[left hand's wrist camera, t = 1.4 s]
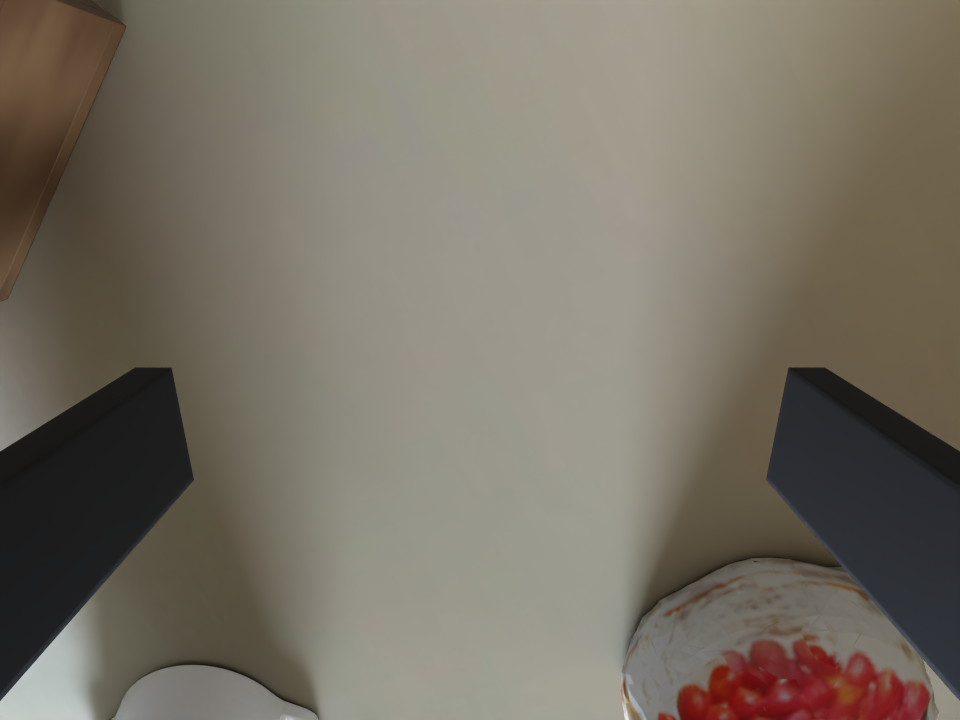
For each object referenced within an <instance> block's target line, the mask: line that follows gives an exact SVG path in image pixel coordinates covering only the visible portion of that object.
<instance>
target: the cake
mask: <svg viewBox="0 0 960 720" xmlns="http://www.w3.org/2000/svg"><path fill="white" fill-rule="evenodd" d="M754 561H757V562H754ZM621 698H622V703H623V708H624V715H625V720H936V718H937V715H938V713H939V712H938V709H937V707H936V705H935V701H934V693H933V689H932V686H931V682H930V679H929V677H928V675H927V673H926V669H925V666H924V662H923V659H922V657H921V656H920V655H919V654H918V653H917V652H916V650H915V649H914V648H913V647H912V646H911V645H910V644H909V642H908V641H907V640H906V639H905V638H904V637H903V636H902V634H901V633H900V632H899V631H898V630H897V629H896V628H895V626H894V625H893V624H892V623H891V622H890V621H889V620H888V618H887V617H886V616H885V615H884V614H883V613H882V612H881V610H880V609H879V608H878V607H877V606H876V605H875V604H874V602H873V601H872V600H871V599H870V598H869V597H868V596H867V594H866V593H865V592H864V591H863V590H862V589H861V588H860V587H859V585H858V584H857V583H856V582H855V581H854V580H853V579H852V577H851V576H850V575H849V574H848V573H847V572H846V571H845V569H844V568H843V567H842V566H841V567H823V566H819V565H817V564H812V563H806V562H800V561H795V560H791V559H781V558H751V559H748V560H744V561H741V562H735V563H731V564H728V565H726V566H724V567H722V568H720V569H718V570H716V571H714V572H712V573H710V574H708V575H707V576H705V577H703V578H702V579H700V580H698V581H696V582H694V583H692V584H690V585H688V586H686V587H684V588H683V589H681V590H679V591H677V592H675V593H673V594H671V595H669V596H667V597H665V598H663V599H661V600H659V602H658V604H657V605H656V606H655V607H654V608H653V609H652V610H651V611H650V612H648V613H647V614H646V615H645V616H643V618H642V619H641V621H640V623H639V626H638V628H637V631H636V632H635V633H634V635H633V636H632V637H631V641H630V645H629V648H628V652H627V654H626V658H625V663H624V665H623V669H622V686H621Z"/></svg>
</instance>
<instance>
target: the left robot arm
mask: <svg viewBox="0 0 960 720" xmlns="http://www.w3.org/2000/svg"><path fill="white" fill-rule="evenodd" d="M193 480H194V478H193V473H192V468H191V463H190V458H189V453H188V448H187V443H186V438H185V433H184V428H183V423H182V418H181V413H180V408H179V403H178V398H177V393H176V388H175V383H174V378H173V373H172V368H134V369H132V370H131V371H129V372H127V373H126V374H124V375H123V376H121V377H119V378H118V379H116V380H115V381H113V382H111V383H110V384H108V385H107V386H105V387H103V388H102V389H100V390H99V391H97V392H95V393H94V394H92V395H90V396H89V397H87V398H86V399H84V400H82V401H81V402H79V403H78V404H76V405H74V406H73V407H71V408H70V409H68V410H66V411H65V412H63V413H62V414H60V415H58V416H57V417H55V418H53V419H52V420H50V421H49V422H47V423H45V424H44V425H42V426H41V427H39V428H37V429H36V430H34V431H33V432H31V433H29V434H28V435H26V436H24V437H23V438H21V439H20V440H18V441H16V442H15V443H13V444H12V445H10V446H8V447H7V448H5V449H4V450H2V451H0V701H1V699H2V698H3V697H4V696H5V695H6V694H7V693H8V691H9V690H10V689H11V688H12V687H13V686H14V685H15V683H16V682H17V681H18V680H19V679H20V678H21V677H22V676H23V674H24V673H25V672H26V671H27V670H28V669H29V668H30V666H31V665H32V664H33V663H34V662H35V661H36V660H37V658H38V657H39V656H40V655H41V654H42V653H43V652H44V650H45V649H46V648H47V647H48V646H49V645H50V644H51V642H52V641H53V640H54V639H55V638H56V637H57V636H58V634H59V633H60V632H61V631H62V630H63V629H64V628H65V626H66V625H67V624H68V623H69V622H70V621H71V620H72V618H73V617H74V616H75V615H76V614H77V613H78V612H79V610H80V609H81V608H82V607H83V606H84V605H85V604H86V602H87V601H88V600H89V599H90V598H91V597H92V596H93V594H94V593H95V592H96V591H97V590H98V589H99V588H100V586H101V585H102V584H103V583H104V582H105V581H106V580H107V579H108V577H109V576H110V575H111V574H112V573H113V572H114V571H115V569H116V568H117V567H118V566H119V565H120V564H121V563H122V561H123V560H124V559H125V558H126V557H127V556H128V555H129V553H130V552H131V551H132V550H133V549H134V548H135V547H136V545H137V544H138V543H139V542H140V541H141V540H142V539H143V537H144V536H145V535H146V534H147V533H148V532H149V531H150V529H151V528H152V527H153V526H154V525H155V524H156V523H157V521H158V520H159V519H160V518H161V517H162V516H163V515H164V513H165V512H166V511H167V510H168V509H169V508H170V507H171V505H172V504H173V503H174V502H175V501H176V500H177V499H178V497H179V496H180V495H181V494H182V493H183V492H184V491H185V489H186V488H187V487H188V486H189V485H190V484H191V483H192V482H193ZM766 480H767V482H768V483H769V484H770V485H771V486H772V487H773V488H774V490H775V491H776V492H777V493H778V494H779V495H780V496H781V497H782V499H783V500H784V501H785V502H786V503H787V504H788V505H789V507H790V508H791V509H792V510H793V511H794V512H795V513H796V515H797V516H798V517H799V518H800V519H801V520H802V521H803V523H804V524H805V525H806V526H807V527H808V528H809V529H810V531H811V532H812V533H813V534H814V535H815V536H816V537H817V539H818V540H819V541H820V542H821V543H822V544H823V545H824V547H825V548H826V549H827V550H828V551H829V552H830V553H831V555H832V556H833V557H834V558H835V559H836V560H837V561H838V563H839V564H840V565H841V566H842V567H843V568H844V569H845V571H846V572H847V573H848V574H849V575H850V576H851V577H852V579H853V580H854V581H855V582H856V583H857V584H858V585H859V587H860V588H861V589H862V590H863V591H864V592H865V593H866V594H867V596H868V597H869V598H870V599H871V600H872V601H873V602H874V604H875V605H876V606H877V607H878V608H879V609H880V610H881V612H882V613H883V614H884V615H885V616H886V617H887V618H888V620H889V621H890V622H891V623H892V624H893V625H894V626H895V628H896V629H897V630H898V631H899V632H900V633H901V634H902V636H903V637H904V638H905V639H906V640H907V641H908V642H909V644H910V645H911V646H912V647H913V648H914V649H915V650H916V652H917V653H918V654H919V655H920V656H921V657H922V658H923V660H924V661H925V662H926V663H927V664H928V665H929V666H930V668H931V669H932V670H933V671H934V672H935V673H936V674H937V676H938V677H939V678H940V679H941V680H942V681H943V682H944V683H945V685H946V686H947V687H948V688H949V689H950V690H951V691H952V693H953V694H954V695H955V696H956V697H957V698H958V699H959V701H960V451H958V450H956V449H955V448H953V447H952V446H950V445H948V444H947V443H945V442H944V441H942V440H940V439H939V438H937V437H936V436H934V435H932V434H931V433H929V432H927V431H926V430H924V429H923V428H921V427H919V426H918V425H916V424H915V423H913V422H911V421H910V420H908V419H907V418H905V417H903V416H902V415H900V414H898V413H897V412H895V411H894V410H892V409H890V408H889V407H887V406H886V405H884V404H882V403H881V402H879V401H878V400H876V399H874V398H873V397H871V396H870V395H868V394H866V393H865V392H863V391H861V390H860V389H858V388H857V387H855V386H853V385H852V384H850V383H849V382H847V381H845V380H844V379H842V378H841V377H839V376H837V375H836V374H834V373H833V372H831V371H829V370H828V369H826V368H788V373H787V378H786V383H785V388H784V393H783V398H782V403H781V408H780V413H779V418H778V423H777V428H776V433H775V438H774V443H773V448H772V453H771V458H770V463H769V468H768V473H767V478H766Z"/></svg>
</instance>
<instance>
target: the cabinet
mask: <svg viewBox="0 0 960 720" xmlns="http://www.w3.org/2000/svg"><path fill="white" fill-rule="evenodd" d="M125 28H126V26H125V25H124V24H123V23H122V22H120V21H119V20H117V19H116V18H114V17H113V16H112V15H110V14H109V13H107V12H106V11H104V10H103V9H102V8H100V7H99V6H97V5H96V4H94V3H93V2H92V1H90V0H0V301H3V300H6V299H8V297H9V294H10V292H11V290H12V288H13V285H14V283H15V281H16V278H17V276H18V274H19V272H20V269H21V267H22V265H23V262H24V260H25V258H26V255H27V253H28V251H29V249H30V246H31V244H32V242H33V239H34V237H35V235H36V232H37V230H38V228H39V226H40V223H41V221H42V219H43V216H44V214H45V212H46V209H47V207H48V205H49V203H50V200H51V198H52V196H53V193H54V191H55V189H56V186H57V184H58V182H59V180H60V177H61V175H62V173H63V170H64V168H65V166H66V163H67V161H68V159H69V157H70V154H71V152H72V150H73V147H74V145H75V143H76V141H77V138H78V136H79V134H80V131H81V129H82V127H83V124H84V122H85V120H86V118H87V115H88V113H89V111H90V108H91V106H92V104H93V101H94V99H95V97H96V95H97V92H98V90H99V88H100V85H101V83H102V81H103V78H104V76H105V74H106V72H107V69H108V67H109V65H110V62H111V60H112V58H113V55H114V53H115V51H116V49H117V46H118V44H119V42H120V39H121V37H122V35H123V32H124V30H125Z"/></svg>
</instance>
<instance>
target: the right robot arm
mask: <svg viewBox="0 0 960 720" xmlns="http://www.w3.org/2000/svg"><path fill="white" fill-rule="evenodd" d="M111 720H318V717H317V716H316V714H315V713H313V712H312V711H310V710H308V709H306V708H303V707H301V706H298V705H295V704H292V703H289V702H285V701H283V700H282V699H280V698H278V697H277V696H275V695H274V694H273V693H271V692H270V691H269V690H267V689H266V688H265V687H263V686H262V685H260V684H259V683H257V682H255V681H254V680H252V679H250V678H248V677H246V676H243V675H241V674H238V673H236V672H233V671H230V670H226V669H222V668H218V667H212V666H204V665H180V666H173V667H168V668H164V669H161V670H157V671H155V672H152V673H150V674H148V675H146V676H144V677H143V678H141V679H140V680H138V681H137V682H136V683H135V684H133V685H132V686H131V688H130V689H129V690H128V691H127V692H126V694H125V696H124V697H123V699H122V702H121V704H120V707H119V709H118V711H117V713H116V715H115V717H114V718H112V719H111Z"/></svg>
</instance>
